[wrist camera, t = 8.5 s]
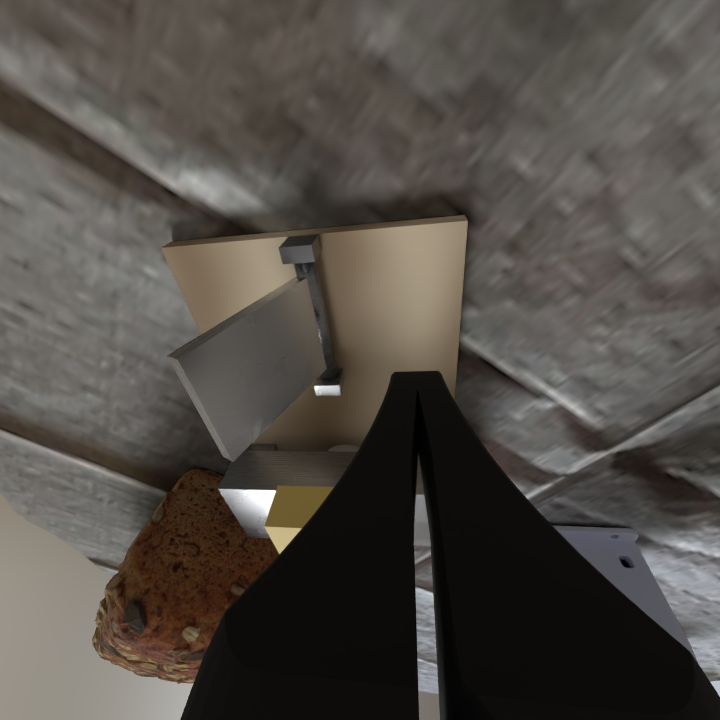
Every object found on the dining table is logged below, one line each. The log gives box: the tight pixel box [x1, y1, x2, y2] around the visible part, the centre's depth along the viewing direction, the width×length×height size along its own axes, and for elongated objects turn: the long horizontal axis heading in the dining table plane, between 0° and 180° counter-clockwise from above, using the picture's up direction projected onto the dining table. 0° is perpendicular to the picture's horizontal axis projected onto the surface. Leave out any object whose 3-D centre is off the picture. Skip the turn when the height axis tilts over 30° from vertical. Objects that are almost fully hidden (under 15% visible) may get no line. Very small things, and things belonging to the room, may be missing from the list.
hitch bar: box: [218, 234, 431, 546], centre depth 16 cm, size 13×16×5 cm
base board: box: [161, 215, 468, 451], centre depth 18 cm, size 12×17×1 cm
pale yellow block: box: [264, 445, 360, 554], centre depth 18 cm, size 5×5×6 cm
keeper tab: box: [167, 259, 338, 462], centre depth 12 cm, size 6×6×1 cm
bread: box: [92, 468, 279, 683], centre depth 26 cm, size 19×11×10 cm, turn 149°
